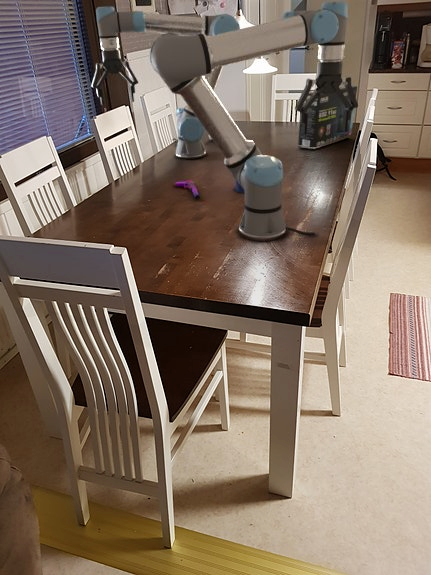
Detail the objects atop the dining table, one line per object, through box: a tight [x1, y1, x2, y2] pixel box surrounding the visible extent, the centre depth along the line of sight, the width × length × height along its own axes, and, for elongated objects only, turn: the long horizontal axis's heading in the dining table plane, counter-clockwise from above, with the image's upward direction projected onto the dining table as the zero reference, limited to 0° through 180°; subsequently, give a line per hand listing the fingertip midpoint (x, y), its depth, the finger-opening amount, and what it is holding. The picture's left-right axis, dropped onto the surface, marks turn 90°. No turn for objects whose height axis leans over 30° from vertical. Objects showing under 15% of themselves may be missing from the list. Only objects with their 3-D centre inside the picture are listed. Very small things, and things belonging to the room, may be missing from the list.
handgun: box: [174, 179, 200, 201], centre depth 185 cm, size 21×8×2 cm, turn 11°
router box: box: [297, 84, 358, 151], centre depth 238 cm, size 36×11×27 cm, turn 134°
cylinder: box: [235, 180, 245, 194], centre depth 184 cm, size 8×8×7 cm
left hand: (117, 103), depth 204 cm, fingers open, 13 cm apart
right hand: (324, 132), depth 151 cm, fingers open, 13 cm apart
